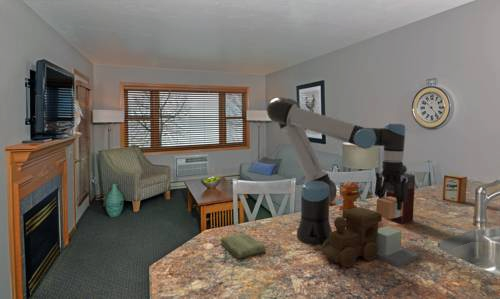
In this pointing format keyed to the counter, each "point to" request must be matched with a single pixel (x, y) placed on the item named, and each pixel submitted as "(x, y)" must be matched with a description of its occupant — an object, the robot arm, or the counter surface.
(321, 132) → the robot arm
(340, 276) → the counter surface
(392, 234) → the sage brick
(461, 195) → the baking soda box
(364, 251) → the wooden toy train
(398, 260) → the base plate
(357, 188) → the orange lumpy rounded piece
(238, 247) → the washcloth
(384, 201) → the terracotta brick
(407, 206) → the toy vending machine
